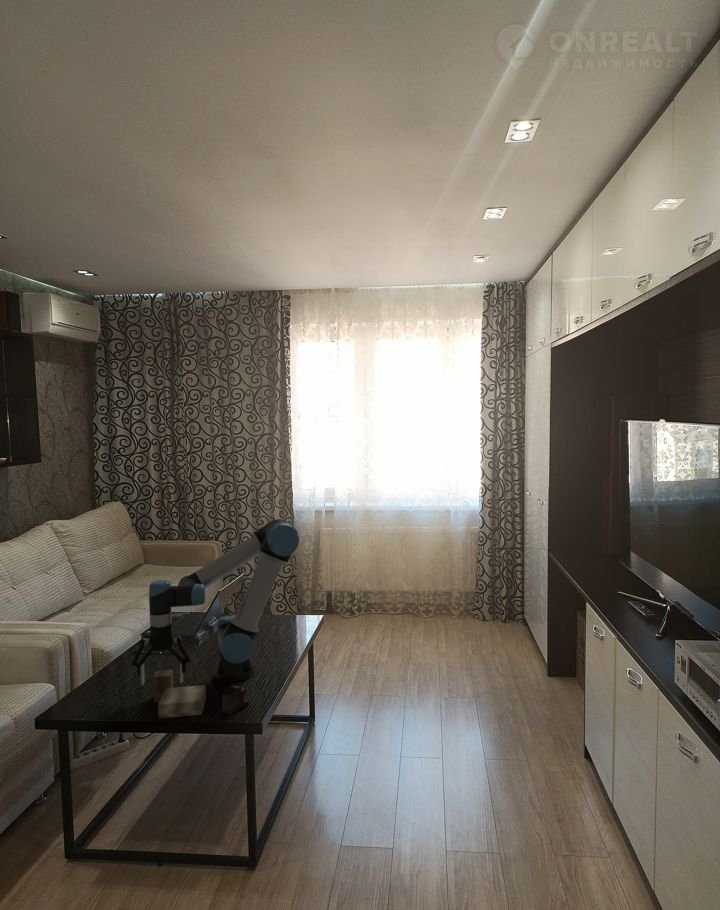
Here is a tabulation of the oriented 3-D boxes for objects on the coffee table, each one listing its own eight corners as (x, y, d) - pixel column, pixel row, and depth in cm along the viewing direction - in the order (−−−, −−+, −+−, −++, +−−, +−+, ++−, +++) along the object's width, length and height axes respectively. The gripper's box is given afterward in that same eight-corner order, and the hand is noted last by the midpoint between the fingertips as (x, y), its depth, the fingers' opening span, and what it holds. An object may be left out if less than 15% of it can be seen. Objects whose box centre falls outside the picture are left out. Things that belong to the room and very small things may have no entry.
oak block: (206, 698, 230) (205, 685, 230) (201, 715, 216) (200, 701, 216) (166, 702, 229) (165, 688, 228) (158, 719, 215) (158, 704, 214)
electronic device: (250, 704, 223) (249, 683, 223) (231, 715, 215) (229, 693, 215) (241, 702, 225) (239, 681, 225) (221, 713, 217) (220, 691, 217)
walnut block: (174, 693, 235) (172, 669, 234) (171, 700, 229) (170, 675, 229) (157, 695, 234) (155, 671, 234) (154, 702, 228) (153, 677, 228)
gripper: (197, 619, 236) (198, 676, 236) (127, 623, 232) (128, 681, 233) (195, 625, 228) (196, 684, 229) (122, 629, 225) (123, 689, 226)
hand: (162, 682), depth 231 cm, fingers open, 13 cm apart
